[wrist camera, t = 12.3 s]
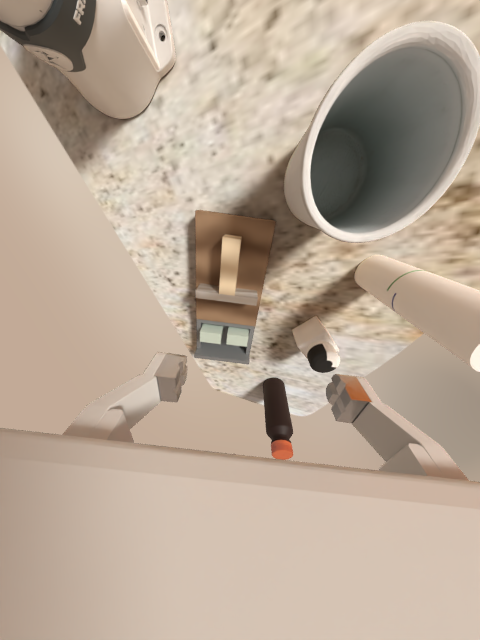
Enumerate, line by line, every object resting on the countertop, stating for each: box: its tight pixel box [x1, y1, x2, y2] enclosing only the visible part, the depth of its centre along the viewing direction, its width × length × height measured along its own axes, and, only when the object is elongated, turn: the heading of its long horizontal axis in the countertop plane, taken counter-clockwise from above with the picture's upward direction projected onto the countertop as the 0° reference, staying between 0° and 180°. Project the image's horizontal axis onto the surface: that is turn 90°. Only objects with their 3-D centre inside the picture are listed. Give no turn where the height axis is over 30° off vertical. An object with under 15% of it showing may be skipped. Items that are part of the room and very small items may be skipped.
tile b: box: [226, 326, 249, 347], centre depth 46 cm, size 5×5×3 cm
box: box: [194, 319, 255, 364], centre depth 47 cm, size 10×14×6 cm
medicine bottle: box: [292, 316, 340, 373], centre depth 43 cm, size 7×7×12 cm
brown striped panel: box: [195, 210, 276, 326], centre depth 39 cm, size 22×14×4 cm, turn 173°
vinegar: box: [263, 378, 293, 460], centre depth 51 cm, size 7×7×20 cm
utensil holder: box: [284, 21, 480, 243], centre depth 24 cm, size 15×15×18 cm
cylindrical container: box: [354, 255, 480, 372], centre depth 29 cm, size 7×7×25 cm
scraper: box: [195, 234, 258, 306], centre depth 35 cm, size 12×12×4 cm
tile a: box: [200, 323, 224, 344], centre depth 46 cm, size 5×5×3 cm
